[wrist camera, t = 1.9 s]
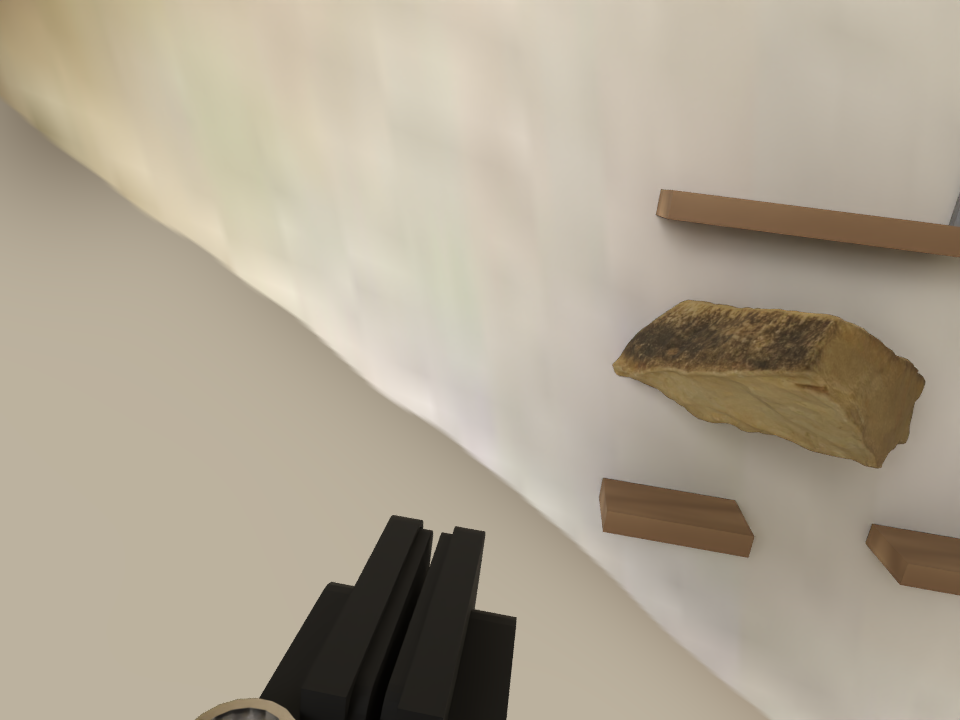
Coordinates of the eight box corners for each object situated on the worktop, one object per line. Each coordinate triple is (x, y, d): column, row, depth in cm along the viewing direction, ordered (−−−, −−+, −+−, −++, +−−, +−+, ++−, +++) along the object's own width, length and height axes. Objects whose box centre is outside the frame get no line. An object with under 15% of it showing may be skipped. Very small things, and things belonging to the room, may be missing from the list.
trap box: (694, 24, 23) (720, -7, 19) (1315, 88, 21) (1480, 67, 17) (599, 497, 29) (604, 544, 25) (1079, 580, 27) (1164, 646, 23)
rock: (1016, 375, 23) (863, 178, 20) (1028, 582, 18) (831, 356, 16) (755, 433, 31) (626, 300, 29) (716, 585, 27) (558, 439, 24)
